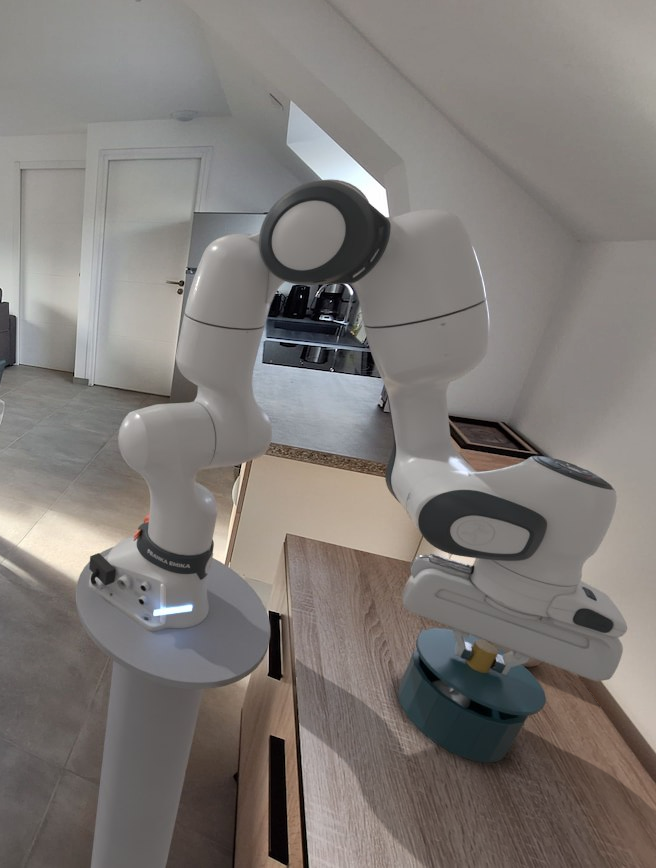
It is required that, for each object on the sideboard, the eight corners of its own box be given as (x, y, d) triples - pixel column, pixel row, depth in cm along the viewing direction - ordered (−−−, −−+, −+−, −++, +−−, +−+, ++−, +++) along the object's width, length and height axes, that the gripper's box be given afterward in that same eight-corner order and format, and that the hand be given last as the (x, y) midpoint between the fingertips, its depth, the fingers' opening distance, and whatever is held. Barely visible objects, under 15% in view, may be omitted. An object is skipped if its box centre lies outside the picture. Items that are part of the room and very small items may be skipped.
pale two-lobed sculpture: (426, 691, 71) (470, 703, 67) (425, 729, 65) (473, 744, 62) (424, 667, 70) (468, 678, 67) (423, 703, 64) (471, 717, 61)
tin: (398, 726, 65) (415, 688, 62) (397, 666, 74) (412, 631, 72) (515, 783, 58) (539, 744, 56) (498, 709, 68) (518, 673, 65)
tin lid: (415, 680, 61) (427, 654, 59) (413, 620, 71) (422, 596, 70) (554, 741, 54) (571, 713, 52) (529, 664, 64) (543, 639, 63)
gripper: (417, 560, 60) (387, 639, 65) (650, 635, 49) (593, 723, 54) (416, 538, 65) (388, 613, 70) (627, 602, 54) (577, 685, 59)
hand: (479, 662), depth 62 cm, fingers closed on tin lid, 2 cm apart
